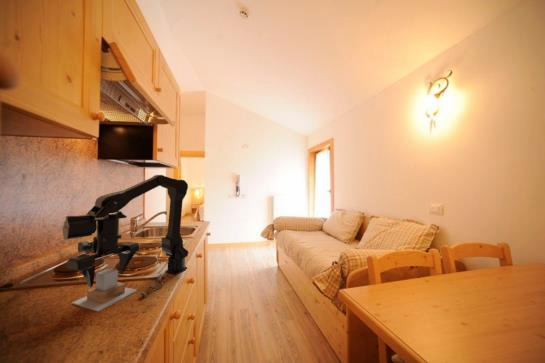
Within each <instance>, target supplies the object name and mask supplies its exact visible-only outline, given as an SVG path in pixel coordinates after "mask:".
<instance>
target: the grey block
mask: <svg viewBox="0 0 545 363" xmlns="http://www.w3.org/2000/svg"><path fill="white" fill-rule="evenodd" d="M95 273H96V274H95V287H96V289H99V290H103V291H105V290H107V289H110V288H112V287H114V286H116V285H117V282H119V281H118V280H119V279H118V277H119V275H118V274H119V269H113V268H111V267H110V268H107V269H104V270H101V271H99V272H95Z"/></svg>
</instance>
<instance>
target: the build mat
mask: <svg viewBox="0 0 545 363" xmlns="http://www.w3.org/2000/svg"><path fill="white" fill-rule="evenodd" d="M136 292H138V289H135V288H130V287H126V286H125V293H123V294H121V295H119V296H117V297H115V298H113V299H111V300H109V301H107V302H105V303H103V304H100V303H97V302H93V301H90V300H87V295H86V296H84V297H81V298H79V299H78V300H77V299H76V300H75V301H73V302H71V304H72V305H75V306H78V307H82V308H84V309H88V310H91V311H94V312H98V313H99V312H101V311H102V310H104V309H107V308H109V307H110V306H112V305H113V304H115V303H118V302H120V301H121V300H124V299H125V298H127V297H129V296H131V295H133V294H135V293H136Z"/></svg>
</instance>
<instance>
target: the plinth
mask: <svg viewBox="0 0 545 363" xmlns="http://www.w3.org/2000/svg"><path fill="white" fill-rule="evenodd" d="M125 287H126V283H124V282H119V281H118V282H117V285H116V286H114V287H112V288H110V289H107V290H105V291H103V290H99V289H96V286H95V287H91V288H89V289H87V290H86V296H87V300H90V301H93V302H97V303H100V304H103V303H105V302H107V301H109V300H111V299H113V298H115V297H117V296H119V295H121V294H123V293H125Z"/></svg>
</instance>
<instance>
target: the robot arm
mask: <svg viewBox="0 0 545 363" xmlns="http://www.w3.org/2000/svg"><path fill="white" fill-rule="evenodd" d="M159 187H161V188H165V189H167V195H168V198H169V210H168V211H169V212H168V226H167V233H166V234H165V236H164V237H161V240H160V241H161V244H160V248H161V250H162V252H163V253H164V255H166V257H168V260H167V261H168V262H167V269H166V270H164V272H165V273H168V274H173V275H178V274H180V273H182V272H184V271H186V270H188V267H187V266H185V265H186V264H185V261H186V260H185V259H186V258H187V257H188V256H189V255H188V254H189V251H188V250H187V249H186V248H185V247H184V241H183V240H184V239H183V238H182V234H181V226H182V225H181V223H182V214H183V213H182V211H183V201H184V199H185V197H186V195H187V192H188V188H189V185H188V182H186V180H185V179H176V178H172V177H168V176H165V175H163V174H154V175H153V176H152V177H150V178H148V179H145V180H143V181H141V182H138V183H137V184H134V185H132V186H129V187H128V188H126V189H122V190H120V191H114V192H110V193H107V194H104V195H100V196H99V197H97V198H96V199H95V202H94V206H92V208H91V209H89V211H88V212H87V213H86V214H84V215H82V214H81V215H66V216H65V221H64V222H63V226H62V236H63V239H64V240H65V241H68V240H73V239H79V238H86V237H91V236H92V235H93V234H95V233H96V236H93V239H92V241H91V242H88V240H84V241H83V240H82V241H80V242H78V243H77V251H78V253H83V252H84V253H83V254H79V255H76V256H72V257H69V258H68V260H67V261H66V269H70V270H74V271H79V272H80V274H81V275H82V276H83V278H84V280H85V282H86V284H87V285H88V287H90V288H93V286H94V282H95V276H96V274H95V273H96V265H94V264H95V262H96V261H98V260H102V259H105V258H108V257H112V256H115V255H117V256H118V258H119V261H118V262H119V263H118V264H119V267H118V274H119V275H123V274H124V272H125V270H126V269H127V267H128V265H129V264H130V262H131V261H132V259H133V257H134V255H136V254H137V252H139V251H140V246H141V245H139V243H138V242H134V241H133V242H131V241H126V242H123V243H120V244H119V242H120V241H119V240H120V239H122V234H119V233H120V231H119V230H120V219H126V218H127V215H126V214H124V213H123V212H122V211H121V210H122V209H123V208H125V207H126V206H127V205H128V204H129V203H130V202H131V201H132V200H134V199H136V198H138V197H140V196H142V195H144V194H146V193H149V192H151V190H154V189H156V188H159ZM90 253H91V254H92V255H90Z"/></svg>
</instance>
